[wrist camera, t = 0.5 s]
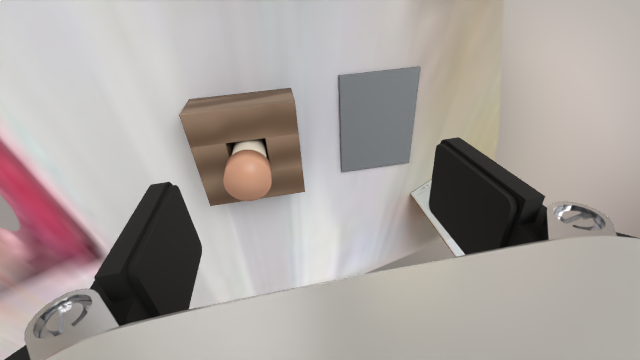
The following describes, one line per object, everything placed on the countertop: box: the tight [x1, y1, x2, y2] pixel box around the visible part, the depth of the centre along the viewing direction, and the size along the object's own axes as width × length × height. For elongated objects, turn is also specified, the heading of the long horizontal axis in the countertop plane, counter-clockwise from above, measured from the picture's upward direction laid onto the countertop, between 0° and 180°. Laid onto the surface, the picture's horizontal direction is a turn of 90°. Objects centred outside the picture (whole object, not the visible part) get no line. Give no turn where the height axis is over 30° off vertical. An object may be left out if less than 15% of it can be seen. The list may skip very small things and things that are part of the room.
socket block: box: [179, 88, 305, 206], centre depth 43 cm, size 14×14×6 cm
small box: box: [411, 180, 465, 257], centre depth 53 cm, size 8×6×13 cm
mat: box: [339, 67, 420, 172], centre depth 47 cm, size 16×12×1 cm
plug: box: [223, 138, 272, 201], centre depth 40 cm, size 6×6×11 cm
